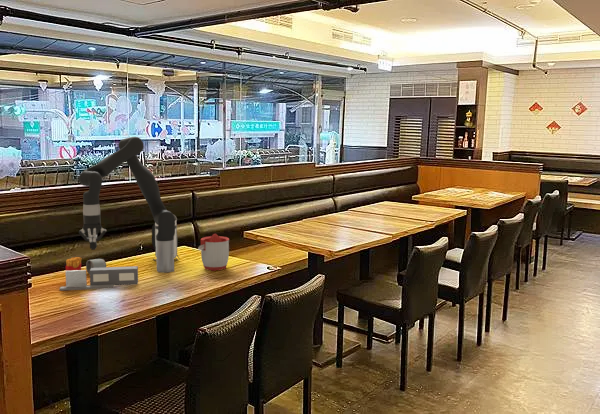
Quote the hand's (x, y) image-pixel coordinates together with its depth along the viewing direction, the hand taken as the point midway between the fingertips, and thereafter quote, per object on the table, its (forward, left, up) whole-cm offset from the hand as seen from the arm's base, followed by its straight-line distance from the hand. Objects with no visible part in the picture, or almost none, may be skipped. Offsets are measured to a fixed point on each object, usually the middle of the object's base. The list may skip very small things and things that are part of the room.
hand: (93, 249), depth 255 cm
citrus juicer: (-59, -27, -19) cm, 67 cm away
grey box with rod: (-2, -3, -19) cm, 19 cm away
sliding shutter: (+8, 0, -18) cm, 20 cm away
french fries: (+11, -13, -19) cm, 26 cm away
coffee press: (-32, -52, -19) cm, 64 cm away
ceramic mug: (+4, -29, -19) cm, 36 cm away
